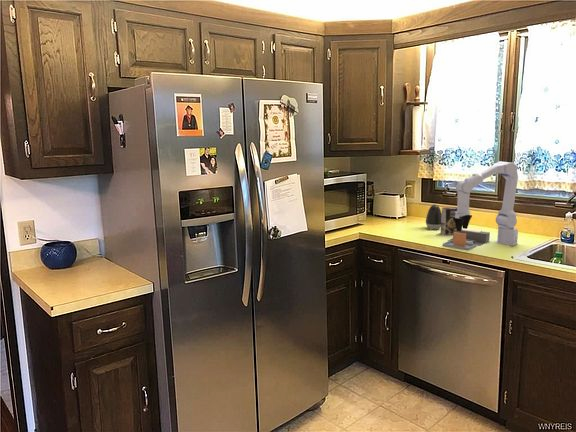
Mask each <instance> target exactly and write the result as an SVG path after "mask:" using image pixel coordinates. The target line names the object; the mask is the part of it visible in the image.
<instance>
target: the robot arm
mask: <svg viewBox="0 0 576 432" xmlns="http://www.w3.org/2000/svg"><path fill="white" fill-rule="evenodd" d="M518 169H519V167H518V166H517V164H516V163H514V162H512V161H511V162H509V161H508V162H507V161H501V160H499V161H497V162H495V163H493V165H491V166H490V167H488V168H487V169H485V170H484V171H482V172H481V173H473V174H471V176H469V177H468V178H465V179H464V180H460V181H458V182H457V184H456V186H455V190H456V192H457V204H456V205H457V212H455V213H456V214H455V217H453V220H454V222H455V225H456V230H457V231H461V230H462V229H469V228H468V227H469V223H470V220H471V219H472V218H473V215H472V214H471V210H470V196H471V195H470V194H471V192H473V189H474V188H476V187H478V186H479V185H481V184H482V183H484V180H485V179H487V178H490V177H492V176H494V175H495V174H499V175H501V176H502V177H503V178H504V179H505V185H504V192H503V199H502V205H501V209H499V211H498V212H497V215H496V216H495V223H496V224H497V240H496V241H495V242H494V243H495V244H501V245H508V246H509V247H510V246H511V247H513V246H515V245H517V244H518V238H519V237H518V235H519V230H518V228H515V227H516V225H517V220H518V219H517V214H516V212H515V210H514V207H515V200H516V194H517V186H518V181H519V175H518Z"/></svg>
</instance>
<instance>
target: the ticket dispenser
mask: <svg viewBox="0 0 576 432" xmlns="http://www.w3.org/2000/svg"><path fill="white" fill-rule="evenodd" d="M454 232H457V233H465V234H466V243H472V244H477V247H482V246H483V245H485V244H487V243H489V242H490V237H491V236H490V235H491V234H490V233H491V232H489V231H482V230H480V229H479V230H477V229H471V228H467V229H464V228H462V230H461V231H457V230H456V229H454ZM452 236H453V238H451V239H448V240H447V242H448V241H450V240H453V239H454V235H452Z"/></svg>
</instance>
